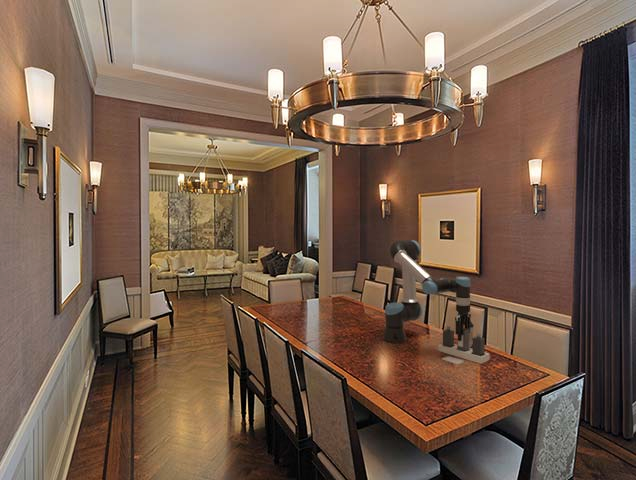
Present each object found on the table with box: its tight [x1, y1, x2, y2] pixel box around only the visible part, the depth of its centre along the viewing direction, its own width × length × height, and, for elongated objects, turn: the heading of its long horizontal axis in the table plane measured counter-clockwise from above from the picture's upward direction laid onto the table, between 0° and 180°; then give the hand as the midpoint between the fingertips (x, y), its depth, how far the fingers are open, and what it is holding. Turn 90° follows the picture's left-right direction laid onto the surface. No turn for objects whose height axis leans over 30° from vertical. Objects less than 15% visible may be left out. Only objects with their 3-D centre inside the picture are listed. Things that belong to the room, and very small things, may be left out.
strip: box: [437, 325, 491, 365], centre depth 200 cm, size 26×9×15 cm, turn 39°
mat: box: [441, 355, 465, 365], centre depth 193 cm, size 10×7×1 cm
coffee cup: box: [468, 320, 475, 348], centre depth 217 cm, size 9×9×15 cm
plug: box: [456, 325, 470, 352], centre depth 199 cm, size 4×4×14 cm
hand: (463, 345), depth 199 cm, fingers closed on plug, 4 cm apart
